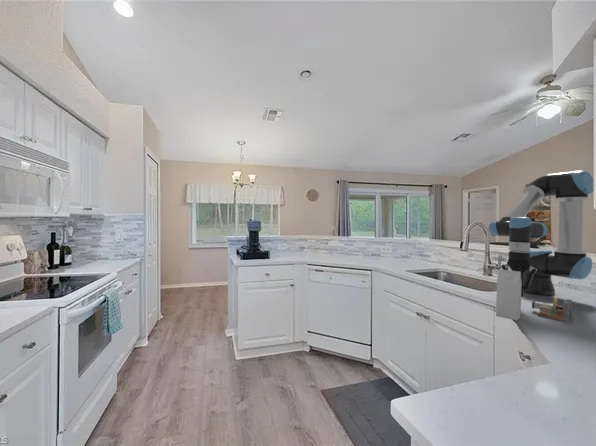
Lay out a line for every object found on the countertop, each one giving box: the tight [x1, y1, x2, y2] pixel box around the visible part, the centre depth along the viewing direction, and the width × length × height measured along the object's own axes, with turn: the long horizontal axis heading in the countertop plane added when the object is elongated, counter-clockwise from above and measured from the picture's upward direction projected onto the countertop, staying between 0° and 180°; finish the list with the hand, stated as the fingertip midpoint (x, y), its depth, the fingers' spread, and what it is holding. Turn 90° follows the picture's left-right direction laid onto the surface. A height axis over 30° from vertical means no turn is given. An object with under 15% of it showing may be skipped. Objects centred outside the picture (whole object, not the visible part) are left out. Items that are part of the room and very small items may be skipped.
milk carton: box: [495, 268, 522, 321], centre depth 113 cm, size 7×7×19 cm
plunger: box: [531, 297, 559, 310], centre depth 117 cm, size 4×8×6 cm, turn 37°
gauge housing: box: [537, 298, 573, 323], centre depth 115 cm, size 12×8×7 cm
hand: (517, 303), depth 125 cm, fingers closed
